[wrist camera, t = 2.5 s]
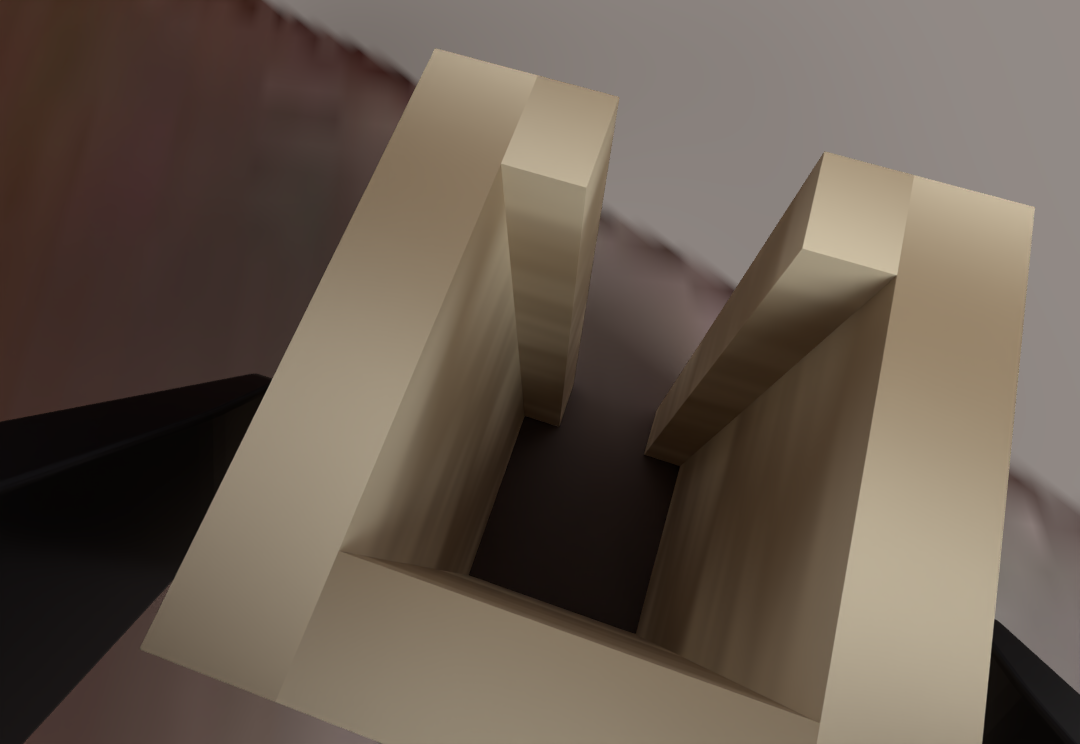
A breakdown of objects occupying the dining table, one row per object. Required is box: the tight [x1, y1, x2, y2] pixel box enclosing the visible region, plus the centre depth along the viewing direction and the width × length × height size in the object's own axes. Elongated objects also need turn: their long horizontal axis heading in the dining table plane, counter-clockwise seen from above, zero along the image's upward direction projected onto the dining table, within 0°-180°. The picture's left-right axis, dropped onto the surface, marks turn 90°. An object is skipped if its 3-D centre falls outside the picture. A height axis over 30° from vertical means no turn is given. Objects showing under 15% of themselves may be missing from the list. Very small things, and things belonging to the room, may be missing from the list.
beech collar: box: [140, 48, 1035, 744], centre depth 11 cm, size 7×7×11 cm
